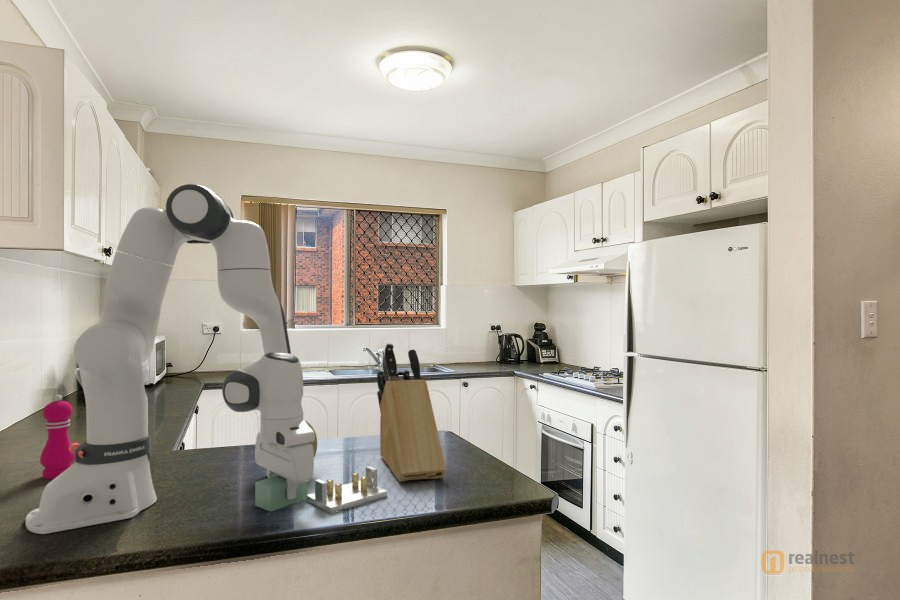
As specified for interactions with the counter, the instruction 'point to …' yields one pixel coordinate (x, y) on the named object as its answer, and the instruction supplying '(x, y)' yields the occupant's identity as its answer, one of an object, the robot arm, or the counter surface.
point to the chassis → (346, 492)
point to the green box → (276, 493)
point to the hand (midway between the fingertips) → (282, 493)
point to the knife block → (407, 422)
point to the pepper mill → (57, 438)
